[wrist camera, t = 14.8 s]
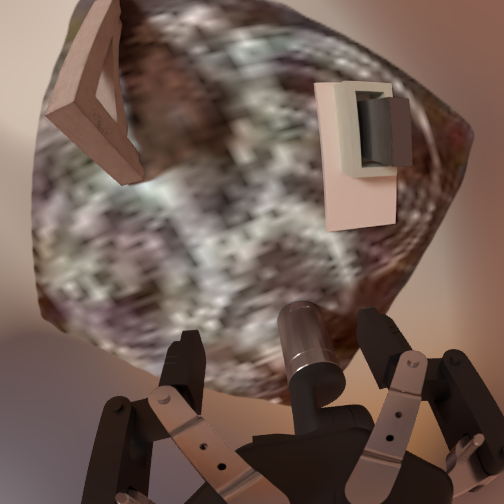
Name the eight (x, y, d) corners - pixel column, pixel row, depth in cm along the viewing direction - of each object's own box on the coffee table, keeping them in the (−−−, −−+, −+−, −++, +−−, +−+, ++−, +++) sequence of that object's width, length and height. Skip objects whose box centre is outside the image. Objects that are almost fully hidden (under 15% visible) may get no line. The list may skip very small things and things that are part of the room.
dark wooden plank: (349, 102, 41) (389, 96, 28) (365, 103, 41) (408, 98, 28) (353, 154, 45) (393, 166, 32) (369, 154, 45) (412, 166, 32)
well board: (392, 221, 51) (409, 233, 45) (326, 229, 51) (336, 243, 45) (387, 85, 40) (406, 82, 34) (313, 83, 40) (324, 77, 35)
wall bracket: (150, 65, 51) (144, 180, 45) (132, 70, 51) (121, 185, 45) (116, -9, 29) (73, 101, 23) (95, 0, 29) (45, 115, 23)
